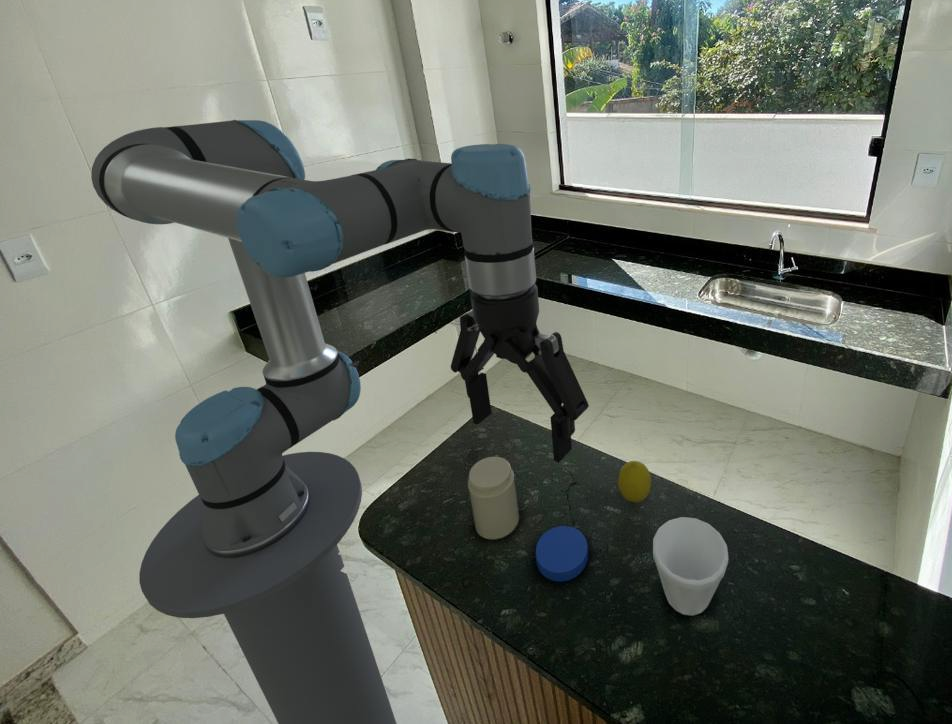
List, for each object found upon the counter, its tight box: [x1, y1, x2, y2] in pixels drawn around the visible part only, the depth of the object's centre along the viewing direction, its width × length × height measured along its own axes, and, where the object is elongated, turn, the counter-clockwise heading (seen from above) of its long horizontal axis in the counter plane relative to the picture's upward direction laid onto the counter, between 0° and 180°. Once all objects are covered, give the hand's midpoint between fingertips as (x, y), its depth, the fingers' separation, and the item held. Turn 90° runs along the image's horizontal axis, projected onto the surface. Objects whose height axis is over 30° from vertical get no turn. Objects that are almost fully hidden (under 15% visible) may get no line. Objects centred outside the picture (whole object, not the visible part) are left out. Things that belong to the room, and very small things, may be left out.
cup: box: [652, 516, 729, 617], centre depth 66 cm, size 10×10×9 cm
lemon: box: [617, 460, 652, 503], centre depth 82 cm, size 6×6×8 cm
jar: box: [467, 456, 520, 540], centre depth 78 cm, size 7×7×11 cm
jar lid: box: [535, 525, 589, 582], centre depth 73 cm, size 8×8×2 cm
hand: (520, 435), depth 63 cm, fingers open, 13 cm apart
